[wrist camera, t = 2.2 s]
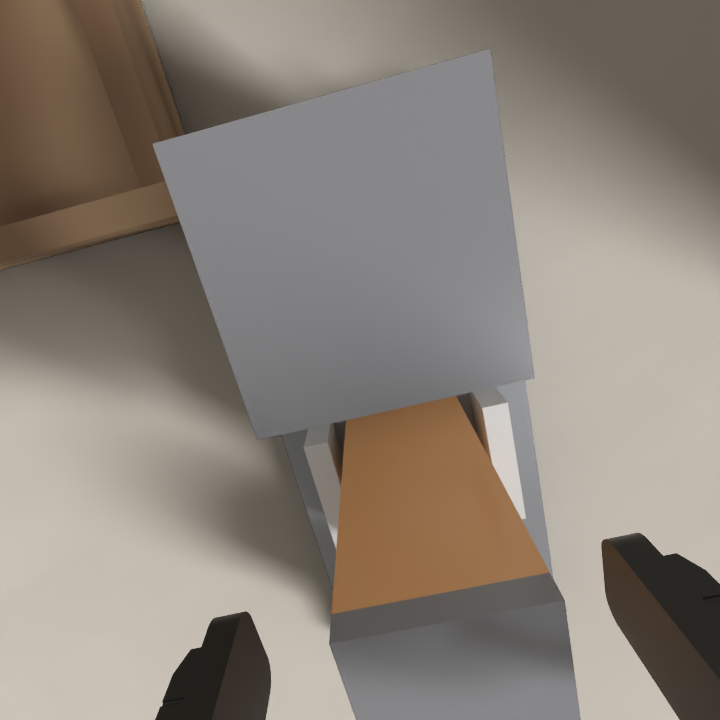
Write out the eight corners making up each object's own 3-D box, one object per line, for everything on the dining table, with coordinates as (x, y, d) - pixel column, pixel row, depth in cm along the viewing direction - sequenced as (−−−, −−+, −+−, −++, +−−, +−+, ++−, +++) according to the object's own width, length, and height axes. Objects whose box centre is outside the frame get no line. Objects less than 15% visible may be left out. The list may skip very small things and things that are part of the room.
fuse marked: (454, 393, 16) (564, 600, 7) (473, 487, 17) (586, 760, 8) (346, 417, 16) (329, 643, 8) (371, 508, 17) (381, 792, 9)
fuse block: (469, 112, 15) (724, -136, 4) (544, 609, 21) (720, 983, 11) (215, 181, 16) (-84, 108, 5) (363, 642, 22) (366, 1025, 12)
